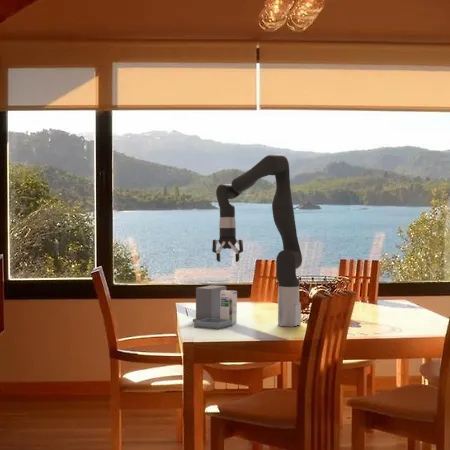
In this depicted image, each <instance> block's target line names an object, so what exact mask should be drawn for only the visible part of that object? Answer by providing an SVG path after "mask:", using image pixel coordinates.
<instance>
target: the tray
mask: <svg viewBox="0 0 450 450" xmlns="http://www.w3.org/2000/svg"><path fill="white" fill-rule="evenodd" d="M193 322H194V328H198V329H199V328H200V329H201V328H203V329H212V330H221V329H222V330H223V329H224V328H229V327H232V326H233V324H232V320H228V319H216V318H206V319H202V320H198V321H193Z"/></svg>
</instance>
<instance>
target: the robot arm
mask: <svg viewBox="0 0 450 450" xmlns="http://www.w3.org/2000/svg"><path fill="white" fill-rule="evenodd" d="M267 176H274V177H275V184H276V185H275V188H276V189H275V193H274V195H273V200H272V204H271V205H272V206H271V210H272V211H271V212H272V218H273V222H274V225H275V226H276V229H277V232H278V233H279V235H280V237H281V241H282V248H283V249H282V250H280V251H279V252H278V253H277V256H276V262H275V266H276V267H275V268H276V269H275V272H276V280H277V283H278V284H277V288H278V289H277V293H278V294H277V325H278V326H280V327H294V326H296V327H298V326H297V325H299V326H301V325H300V324H301V323H302V303H301V302H300V279H299V278H298V276H297V271H296V270H298V269H299V268H300V267H301V265H302V263H303V256H302V252H301V251H302V250H301V248H300V247H301V246H300V243H299V239H298V233H297V232H298V231H297V227H296V226H297V225H296V217H295V210H294V204H293V199H292V198H293V197H292V190H291V181H290V180H291V176H290V163H289V160H288V158H287V157H286V155H284V154H279V153H278V154H275V153H274V154H272V153H271V154H268V155H266V156H265V157H263V158H262V159H261V160H259V162H257V163H256V164H255V165H254V166H253V167H251V168H250V169H249V170H248V171H245V172H243V173H242V174H240V175H238V176H236V177H235V178H234V179H233V180H231V183H221V184H218V186H217V187H216V191H215V195H216V200H217V203H218V207H219V224H218V227H219V229H218V230H219V239H213V240H212V248H211V249H212V250H211V251H212V253H215V255H216V256H215V257H216V261H217V262H218V263H220V262H221V252H222V250H226V249H228V250H231V249H232V250H233V251H234V252H235V262H236V263H237V262H239V261H240V254H241V253H244V244H243V243H244V241H243V239H237V235H236V234H237V233H236V229H237V228H236V224H237V223H236V208H235V205H234V204H231V203H230V201H229V200H233V199H236V198H238V197H239V196H240V195H241V194H242V193H243V192H244V191H247V190H249V189H250V188H251V187H253V186H254V185H255V184H257V183H256V182H258V180H260V179H262V178H265V177H267ZM218 244H219V247H218V248H217V245H218ZM236 244H237V245H238V247H237V246H236Z"/></svg>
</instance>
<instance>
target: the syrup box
mask: <svg viewBox="0 0 450 450" xmlns="http://www.w3.org/2000/svg"><path fill="white" fill-rule="evenodd" d="M237 305H238V291H237V290H231V289H230V290H227V289H226V290H222V291H220V319H228V320H232V325H233V324H236V323H238V322H237V321H238V320H237V318H238V317H237V316H238V309H237V307H238V306H237Z"/></svg>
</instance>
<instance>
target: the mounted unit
mask: <svg viewBox="0 0 450 450" xmlns="http://www.w3.org/2000/svg"><path fill="white" fill-rule="evenodd" d="M222 290H227V286H225V285H215V284H214V285H211V284H209V285H205V286H200V287H195V318H193V319H192V322H194V321H198V320H202V319H206V318H216V319H220V291H222Z"/></svg>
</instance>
